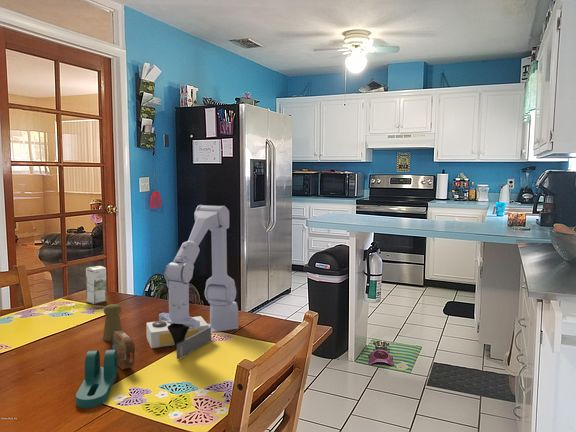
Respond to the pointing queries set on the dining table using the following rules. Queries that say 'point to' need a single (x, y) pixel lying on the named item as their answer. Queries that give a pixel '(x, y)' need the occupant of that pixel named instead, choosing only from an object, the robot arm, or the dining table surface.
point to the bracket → (97, 379)
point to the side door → (193, 342)
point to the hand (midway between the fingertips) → (179, 347)
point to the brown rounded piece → (123, 349)
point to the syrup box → (96, 284)
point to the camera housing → (168, 332)
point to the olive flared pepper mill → (111, 320)
